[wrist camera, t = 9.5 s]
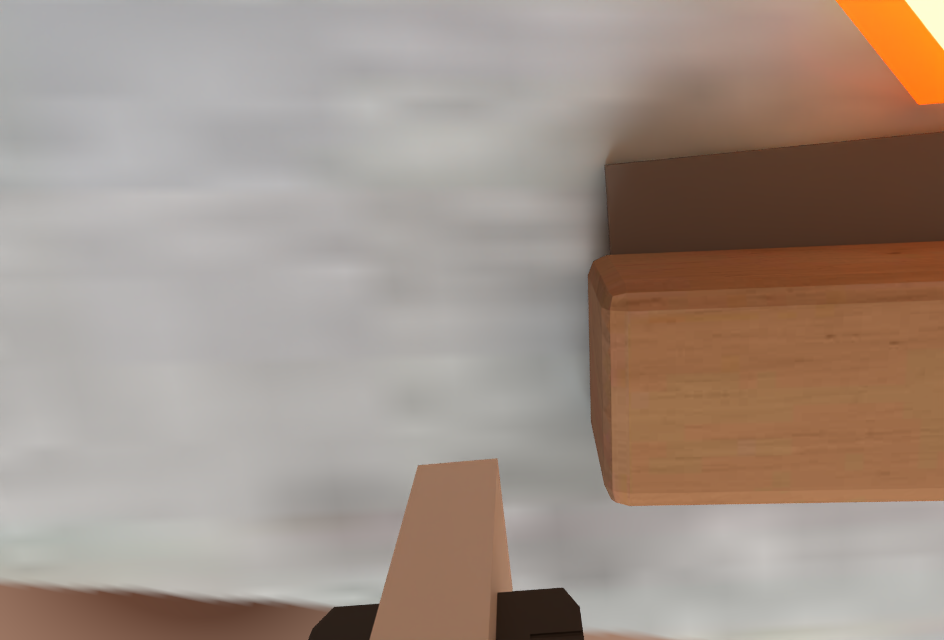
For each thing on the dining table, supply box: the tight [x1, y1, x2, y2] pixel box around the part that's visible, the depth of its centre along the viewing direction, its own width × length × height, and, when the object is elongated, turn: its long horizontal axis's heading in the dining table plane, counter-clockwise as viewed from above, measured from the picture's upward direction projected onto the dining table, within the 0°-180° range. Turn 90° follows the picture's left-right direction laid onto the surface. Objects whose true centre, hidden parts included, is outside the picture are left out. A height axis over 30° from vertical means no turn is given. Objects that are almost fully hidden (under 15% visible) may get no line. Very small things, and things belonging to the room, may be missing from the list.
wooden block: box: [588, 241, 944, 506], centre depth 38 cm, size 10×10×20 cm
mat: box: [605, 132, 944, 255], centre depth 42 cm, size 16×20×1 cm
